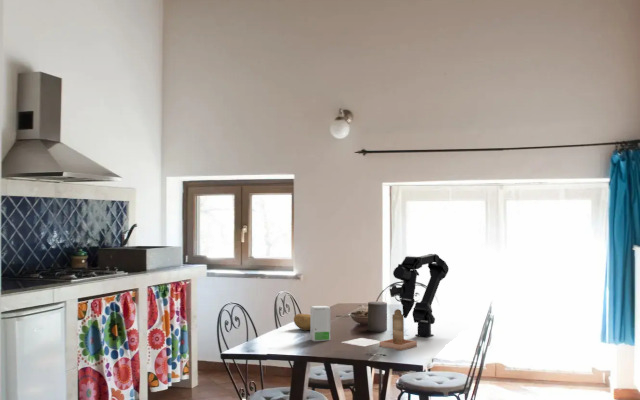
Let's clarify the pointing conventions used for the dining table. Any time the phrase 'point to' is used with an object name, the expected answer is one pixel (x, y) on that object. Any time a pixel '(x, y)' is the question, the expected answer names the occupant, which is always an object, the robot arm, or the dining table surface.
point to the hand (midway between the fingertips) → (404, 317)
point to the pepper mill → (398, 327)
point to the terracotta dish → (404, 346)
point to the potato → (302, 321)
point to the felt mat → (362, 342)
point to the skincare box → (320, 323)
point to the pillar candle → (377, 316)
